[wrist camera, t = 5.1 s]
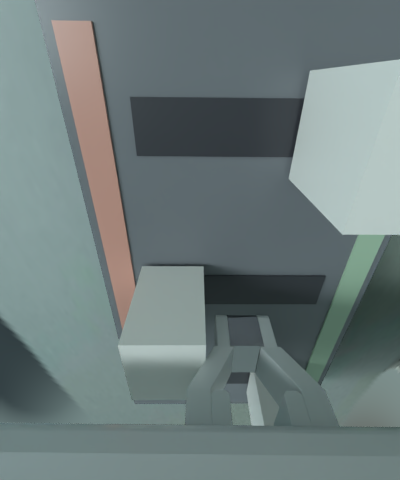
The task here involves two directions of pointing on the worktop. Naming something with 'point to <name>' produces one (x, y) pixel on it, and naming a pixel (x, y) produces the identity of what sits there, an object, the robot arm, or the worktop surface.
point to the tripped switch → (164, 332)
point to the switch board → (215, 154)
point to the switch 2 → (352, 147)
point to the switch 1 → (260, 403)
